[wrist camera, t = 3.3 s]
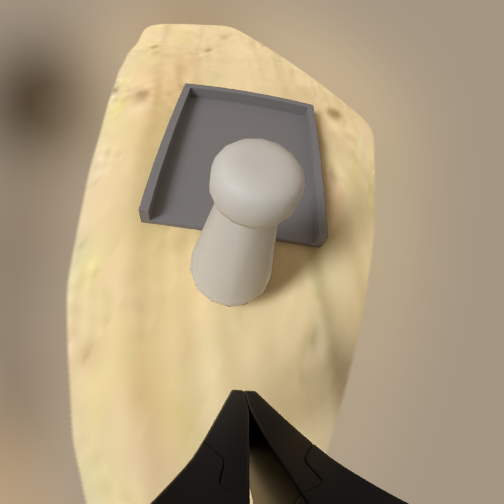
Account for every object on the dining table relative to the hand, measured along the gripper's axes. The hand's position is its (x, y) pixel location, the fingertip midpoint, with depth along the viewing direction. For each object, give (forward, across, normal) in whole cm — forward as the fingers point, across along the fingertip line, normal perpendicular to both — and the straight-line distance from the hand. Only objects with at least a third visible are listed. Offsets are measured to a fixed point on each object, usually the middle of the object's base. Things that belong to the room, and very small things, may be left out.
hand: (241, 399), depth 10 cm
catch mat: (+24, 0, +7) cm, 25 cm away
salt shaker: (+15, 0, -2) cm, 15 cm away
